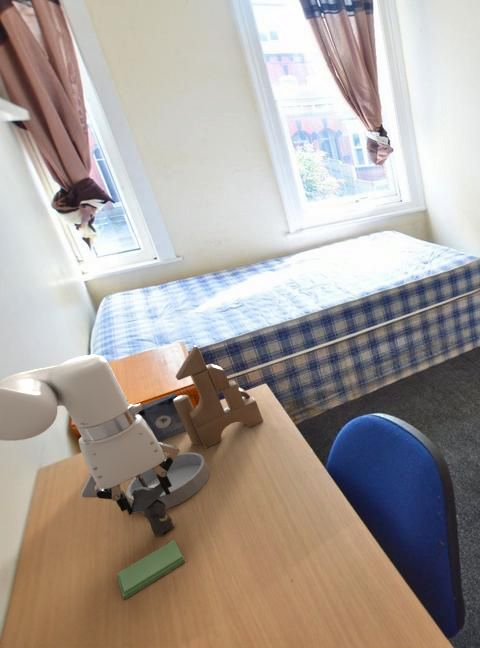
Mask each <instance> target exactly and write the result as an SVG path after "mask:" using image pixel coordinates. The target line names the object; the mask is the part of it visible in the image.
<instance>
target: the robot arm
mask: <svg viewBox="0 0 480 648" xmlns="http://www.w3.org/2000/svg"><path fill="white" fill-rule="evenodd" d="M61 406H62V407H64V408H65V410H66V411H67V413H68V415H69V417H70V418H71V420H72V422H73V423H74V425H75V427H76V429H77V431H78V433H79V434H80V436H81V437H80V438H79V439H78V445H79V449H80V453H81V455H82V458H83V460H84V462H85V464H86V467H87V469H88V471H89V475H88V477H87V479H86V480H85V483H84V485H83V487H82V489H81V492H80V494H81V496H82V498H85V499H87V498H89V499H91V498H92V499H95V498H98V499H101V500H102V499H103V500H112V501H113V502H116V505H117V506H118V507H119V509H120V510H121V512H123V513H124V511H125V512H126V511H127V513H128V516H131V515H132V514H134V512H133V510H132V504H131V502H130V500H129V498H128V496H127V494H126V492H125V491H124V490H122V489H121V484H123V483H125V482H127V481H129V480H131V479H134V478H135V476H137V475H139V474H142V473H144V472H146V471H148V470H150V469H152V470H153V471H154V472H155V473H157V474H156V476H157V478H158V480H159V482H160V484H161V486H162V488H163V490H164V492H165V494H166V495H169V494H171V493H170V491H169V489H168V488H169V487H171V486H172V485H171V483H170V481H169V479H168V477H167V474H168V470H169V468H170V467H171V465H172V463H173V460H174V459H175V458H176V456H177V455H178V454H180V451H181V449H180V448H179V447H178V446H177V445H172V444H169V443H164V442H162V441H159V442H158V441H157V439H156V437H155V435H154V434H153V432H152V430H151V429H150V427H149V426H148V424H147V423H146V421H145V420H144V419H143V418H142V417H141V416H140V415H138V414H136V413H139V411H142V410H143V408H142V406H143V405H142V404H141V403H137V404H132V403H131V404H130V403H129V400H128V399H127V397H126V394H125V393H124V390H123V389H122V387H121V385H120V383H119V381H118V379H117V377H116V375H115V373H114V371H113V368H112V366H111V365H110V363H109V361H108V360H107V359H106V357H104V356H102V355H98V354H89V355H88V354H87V355H82V356H78V357H74V358H72V359H68V360H67V361H64V362H62V363H60V364H57V365H53V366H48V367H43V368H37V369H32V370H27V371H22V372H17V373H14V374H11V375H8V376H6V377H4V378H2V379H1V380H0V441H4V442H6V441H7V442H8V441H9V442H10V441H13V442H14V441H24V440H28V439H32V438H34V437H37V436H39V435H41V434H43V433H44V432H46V431H47V430H49V429H50V428H51V426H52V425H53V424H54V423H55V421H56V418H57V416H58V407H61ZM165 453H166V456H165ZM96 485H97V487H98V488H97V487H96Z"/></svg>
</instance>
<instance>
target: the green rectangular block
mask: <svg viewBox="0 0 480 648" xmlns="http://www.w3.org/2000/svg"><path fill="white" fill-rule="evenodd" d="M184 563H186V561H185V559H184V556H183V554H182V551H181V550H180V547H179V546H178V543H177V542H176V540H175V539H173V540H171V541H170V542H168V543H166V544H164V545H163V546H161V547H159V548H158V549H156V550H155V551H152V552H151V553H150V554H148V555H146V556H144V557H142V558H141V559H139V560H137V561H136V562H134V563H132V564H131V565H129V566H127V567H125V568H124V569H122V570H120V571H119V572H118V575H116V579H117V582H118V585H119V589H120V592H121V596H122V598H123V599H124V600H127V599H128V598H130V597H131V596H133V595H135V594H136V593H138V592H139V591H141V590H143V589H144V588H146V587H148V586H149V585H151V584H153V583H154V582H156V581H157V580H159V579H160V578H162V577H164V576H166V575H167V574H169V573H170V572H172V571H173V570H175V569H176V568H178V567H180V566H181V565H183V564H184Z"/></svg>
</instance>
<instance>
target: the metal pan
mask: <svg viewBox="0 0 480 648" xmlns="http://www.w3.org/2000/svg"><path fill="white" fill-rule="evenodd" d="M156 474H157V473H155V472H154V471H153V470H152V469H150V470H148V471H146V472H144V473H142V474H141V477H143V479H144V481H145V483H146V484H147V486H148V487H149V486H151V485H154V484H160V482H159V480H158V478H157V476H156ZM167 477H168V479H169V481H170V483H171V485H172V486H171V487H169V488H168V489H169V491H170V493H171V494H169V495H166V494H165V492H163V493H162V494H161V495H160V497H161V498H162V499H163V500H164V501H165V502H166V503H167V505H168V507H169V509H170V508H174V507H175V506H177V505H179V504H181V503H183V502H185V501H186V500H188V499H189V498H191V497H192V496H194V495H195V494H197V492H199V491H200V490H201V489H202V488H203V486H204V485H205V484H206V483H207V482H208V480H209V477H210V469H209V466H208V463H207V461H206V459H205V458H204V456H203V455H202V454H200V453H197V452H182V453H178V455H177V456H176V458H175V459H174V460H173V463H172V465H171V467H170V468H169V470H168V474H167ZM140 487H143V486H142V484H141V483H140V482H139V480H138V478H136V477H133V478H132V480H131V481H130V482H129V484H128V486H127V488H126V492H125V494H126V497H127V499H128V501H129V502H130V504H131V505H132V503H133V501H134V499H133V495H132V493H133V491H134V490H135V489H137V488H140ZM131 495H132V496H131ZM169 509H168V508H166V507H165V509H164V511H165V510H169ZM141 513H142V514H144V511H143V512H141Z"/></svg>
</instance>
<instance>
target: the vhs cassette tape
mask: <svg viewBox="0 0 480 648" xmlns="http://www.w3.org/2000/svg"><path fill="white" fill-rule="evenodd" d="M177 397H178V396H177V394H176V393H175V392H174V393H172V394H170V395H167V396H163V397H161V398H158V399H156V400H154V401H151V402H148V403H146V404H143V405H141V406H142V408H143V410H142V411H139V413H136V414H138V415H140V416H141V417H142V418H143V419H144V420H145V421H146V423H147V424H148V426H149V427H150V429H151V430H152V432H153V434H154V435H155V437H156V439H157V441H158V442H162V441H164V440H166V439H169V438H170V437H173V436H175V435H177V434H179V433H182V432H185V431H186V429H185V427H184V425H183V423H182V420H181V418H180V416H179V414H178V412H177V410H176V408H175V405H174V403H173V400H174V399H175V398H177Z"/></svg>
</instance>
